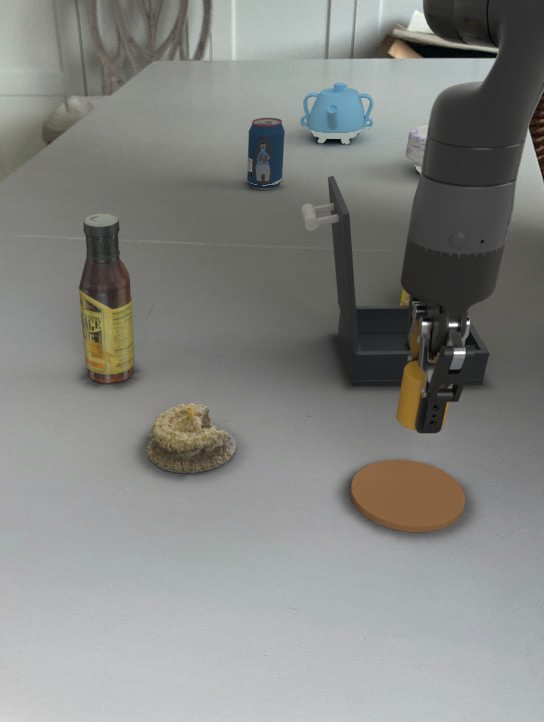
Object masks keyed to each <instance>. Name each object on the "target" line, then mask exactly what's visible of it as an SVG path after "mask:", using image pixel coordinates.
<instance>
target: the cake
mask: <svg viewBox="0 0 544 722" xmlns="http://www.w3.org/2000/svg"><path fill="white" fill-rule="evenodd" d="M211 421H212V417H210V408H209V406H208V405H205V404H201V403H199V404H194V402H188V403H187V404H185V403H180V404H179V403H178V404H177V406H173V407H172V406H170V407H169V408H168V409H166V410H164V411H163V412H160V413H159V414H158V416H157V417H156V418H155V419H154V421H153V423H152V424H151V425H150V429H149V433H148V434H149V438H150V440H149V442H148V445H147V446H146V450H145V452H146V456H147V458H148V461H150V462H151V463H152V464H153V465H155V466H156V467H157V468H160V469H161V470H164V471H168V472H173V473H175V474H189V473H190V474H194V473H195V474H196V473H201V472H206V471H211V470H213V469H217V468H219V467H220V466H223V465H225V464H226V463H227V462H228V461H229V460H230V459H232V457H233V456H234V454H236V450H237V440H236V438H235V437H234V435H233V434H232V433H230V432H229V431H228V430H226V429H224V428H222V427H220V426H216V425H213V424H212V423H211Z"/></svg>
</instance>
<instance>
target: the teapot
mask: <svg viewBox="0 0 544 722" xmlns="http://www.w3.org/2000/svg"><path fill="white" fill-rule="evenodd" d="M312 97H313V98H314V97H315V98H316V99H315V101H314V102H313V105H312V107H311V109H310V111H309V106H308V100H309V99H310V98H312ZM362 99H367V100H368V101H369V105H368V108H367V111H366V113H365V109H364V104H363V102H362ZM302 105H303V111H304V114H305V115H303V116H301V118H300V121H299V123H300V126H302V127H304V126H307V128H308V130H309V129H310V130H313V131H316V132H322V133H349V132H355V131H358V130H360V129H362V128H363V127H371V128H372V127H373V125H374V119H372V118H371V117H370V115H371V112H372V110H373V107H374V98H373V96H372V95H370V94H368V93H365V92H363V93H359V91H358V90H357V89H355V88H349V87H348V85H347V83H345V82H334V83H333V87H328V88H327V87H326V88H324V89H322V90H320V91H319V93H318V92H316V91H315V92H309V93H308V94H306V95H305V96H304V98H303V102H302ZM304 120H306V122H305V121H304ZM367 122H369V123H368V124H367ZM363 129H364V128H363ZM363 129H362V130H363ZM310 130H309V131H310Z"/></svg>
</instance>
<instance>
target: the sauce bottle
mask: <svg viewBox="0 0 544 722" xmlns="http://www.w3.org/2000/svg"><path fill="white" fill-rule="evenodd" d="M82 225H83V234H84V236H85V245H86V246H85V247H86V253H85V255H86V258H85V260H84V265H83V269H82V273H81V277H80V281H79V285H78V292H79V293H78V294H79V307H80V319H81V330H82V343H83V350H84V351H83V352H84V363H85V367H86V369H87V370H86V373H87V375H88V377H89V378H90V379H91V380H93V381H96V382H98V383H100V384H105V385H107V384H117V383H120V382H123V381H126V380H128V379H130V377H132V376H133V373H134V365H135V345H134V344H135V343H134V341H135V340H134V322H133V321H134V320H133V319H134V317H133V297H132V294H131V293H132V292H131V291H132V290H131V276H130V273H129V270H128V269H127V267H126V265H125V263H124V262H123V261H122V260H121V258H120V254H121V252H120V248H119V247H120V246H119V245H120V243H119V233H120V229H121V228H120V218H119V217H118V216H116V215H115V214H111V213H93V214H91V215H88V216H86V217H85V218H84V219H83V223H82Z"/></svg>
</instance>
